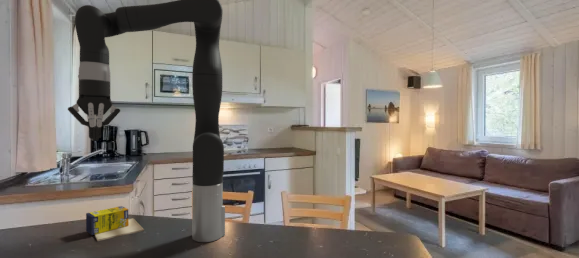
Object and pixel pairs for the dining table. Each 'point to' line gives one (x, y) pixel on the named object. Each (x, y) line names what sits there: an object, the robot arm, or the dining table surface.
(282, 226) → the dining table surface
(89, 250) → the dining table surface
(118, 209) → the supplement box
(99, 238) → the birch board
